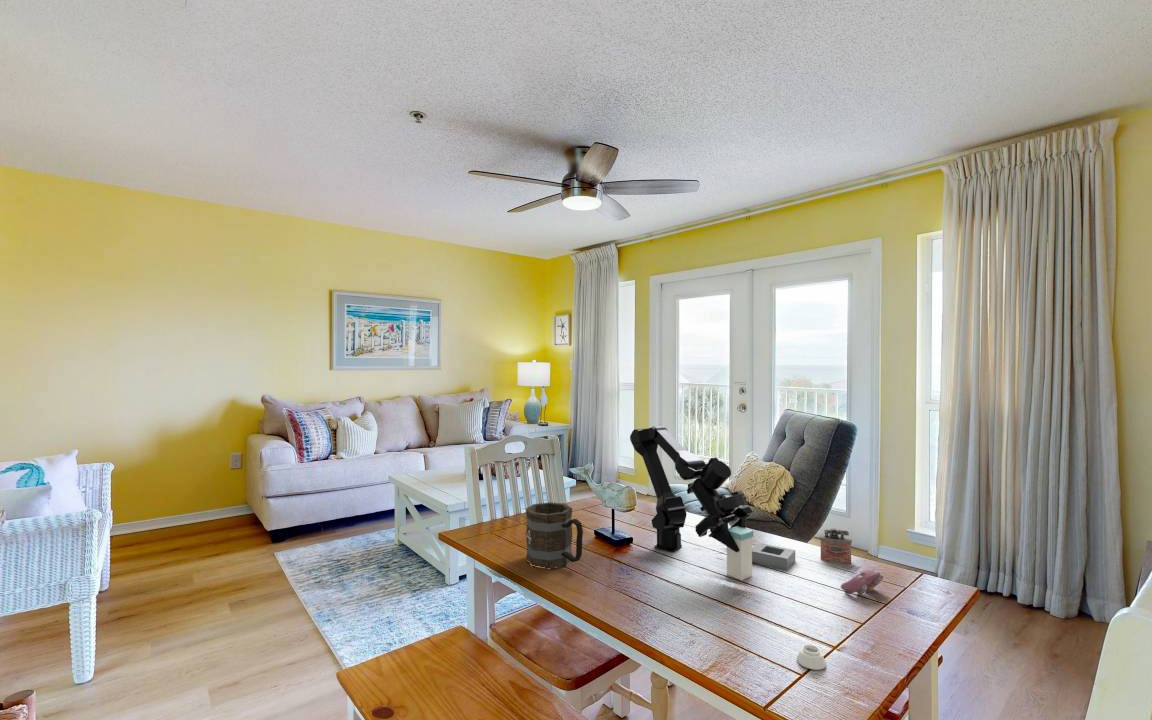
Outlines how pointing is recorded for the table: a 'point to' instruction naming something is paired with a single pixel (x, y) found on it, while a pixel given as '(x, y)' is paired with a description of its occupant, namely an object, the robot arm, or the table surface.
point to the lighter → (836, 546)
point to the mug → (551, 535)
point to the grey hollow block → (773, 556)
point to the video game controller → (862, 582)
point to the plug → (740, 553)
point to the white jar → (811, 657)
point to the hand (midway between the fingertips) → (743, 549)
